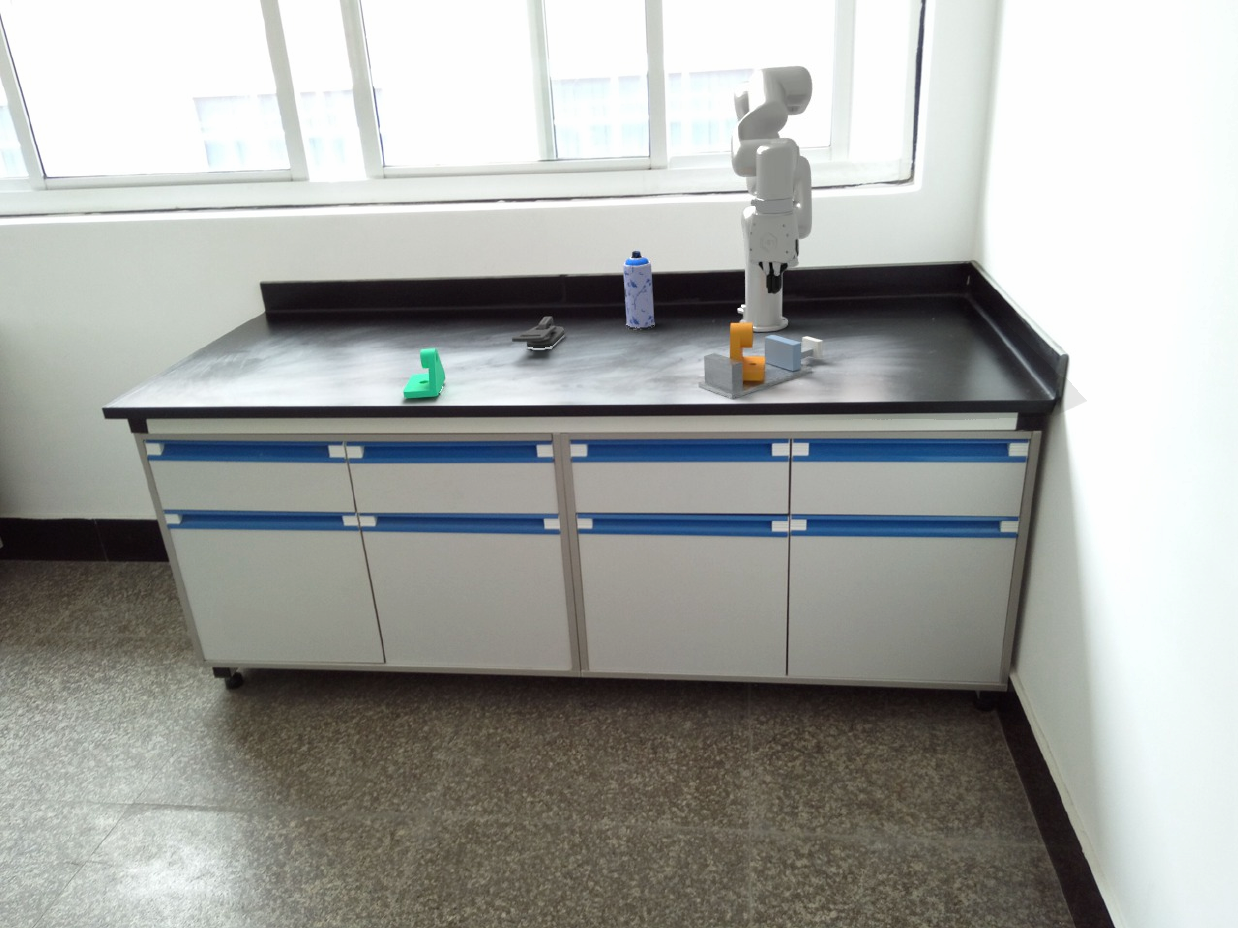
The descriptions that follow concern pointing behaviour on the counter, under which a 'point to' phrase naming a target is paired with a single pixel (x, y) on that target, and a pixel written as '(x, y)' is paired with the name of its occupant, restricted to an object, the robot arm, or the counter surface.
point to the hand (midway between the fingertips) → (773, 292)
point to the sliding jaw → (791, 351)
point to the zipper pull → (541, 334)
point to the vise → (741, 376)
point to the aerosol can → (638, 291)
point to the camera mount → (426, 376)
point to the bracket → (738, 340)
